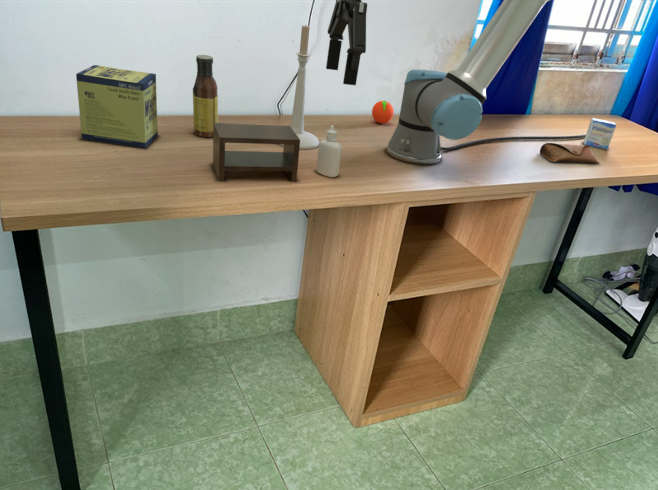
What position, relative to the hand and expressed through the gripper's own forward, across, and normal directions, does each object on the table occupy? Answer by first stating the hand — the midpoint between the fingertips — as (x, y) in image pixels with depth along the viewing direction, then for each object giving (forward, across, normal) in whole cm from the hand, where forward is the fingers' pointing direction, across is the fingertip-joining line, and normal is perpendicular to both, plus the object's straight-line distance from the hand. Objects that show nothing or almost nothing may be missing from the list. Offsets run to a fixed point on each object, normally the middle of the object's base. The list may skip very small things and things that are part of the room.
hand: (340, 76), depth 140 cm
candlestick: (+24, -24, -2) cm, 34 cm away
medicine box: (+20, -29, +105) cm, 111 cm away
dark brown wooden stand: (+24, 0, -18) cm, 30 cm away
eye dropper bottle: (+23, 0, 0) cm, 23 cm away
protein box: (+25, -22, -47) cm, 57 cm away
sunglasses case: (+21, -15, +84) cm, 88 cm away
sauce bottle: (+24, -27, -26) cm, 44 cm away
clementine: (+22, -44, +31) cm, 58 cm away
